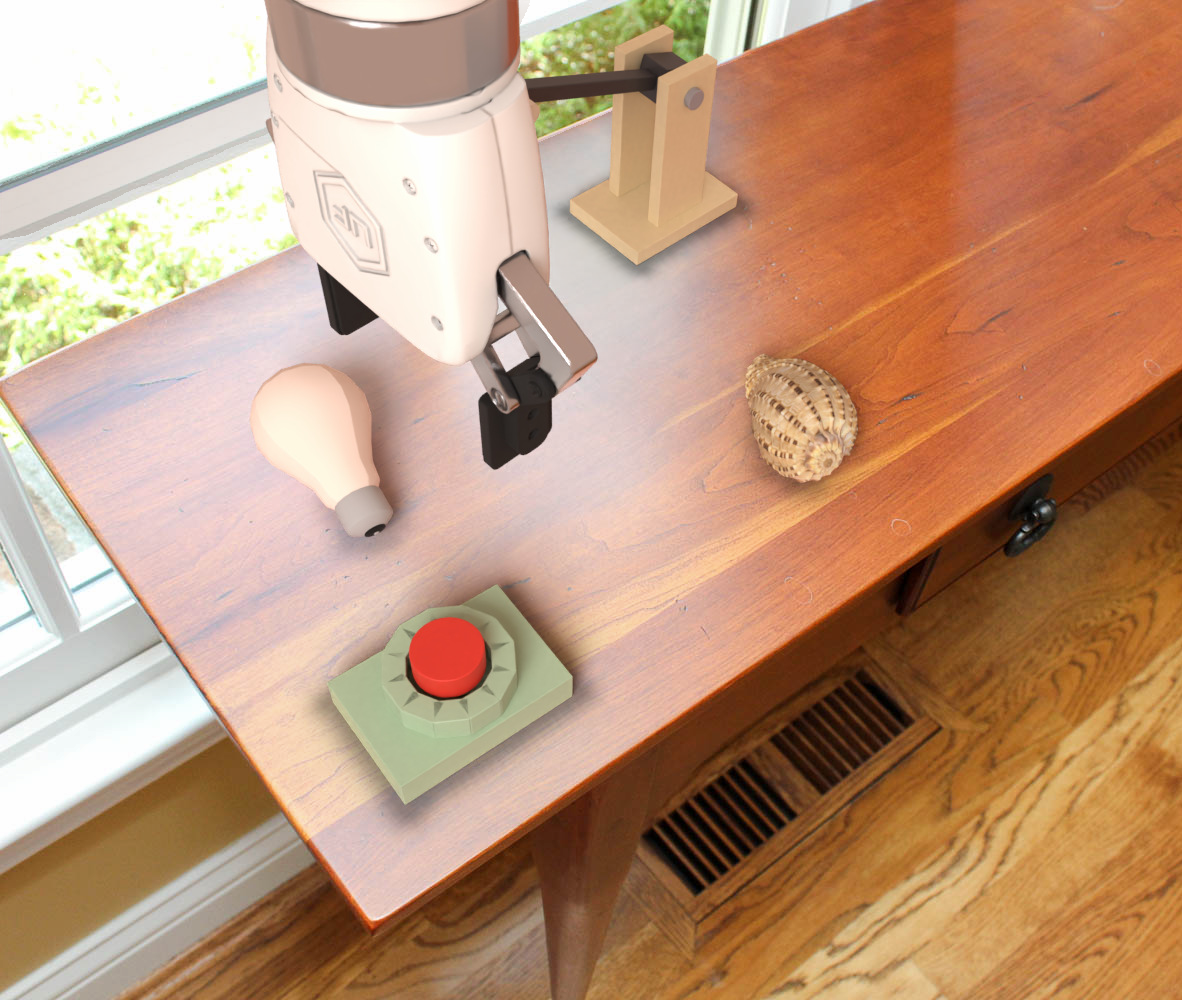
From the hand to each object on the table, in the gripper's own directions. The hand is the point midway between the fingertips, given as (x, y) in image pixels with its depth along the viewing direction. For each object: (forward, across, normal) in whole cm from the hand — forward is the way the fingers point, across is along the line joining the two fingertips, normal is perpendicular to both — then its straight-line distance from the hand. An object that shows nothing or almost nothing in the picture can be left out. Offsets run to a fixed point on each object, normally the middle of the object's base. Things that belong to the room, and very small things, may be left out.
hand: (440, 380), depth 51 cm
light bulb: (+20, -12, 0) cm, 23 cm away
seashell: (+20, +3, +23) cm, 31 cm away
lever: (+7, -17, +25) cm, 31 cm away
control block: (+19, +3, -4) cm, 20 cm away
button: (+16, +3, -4) cm, 16 cm away
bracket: (+19, -17, +32) cm, 41 cm away
